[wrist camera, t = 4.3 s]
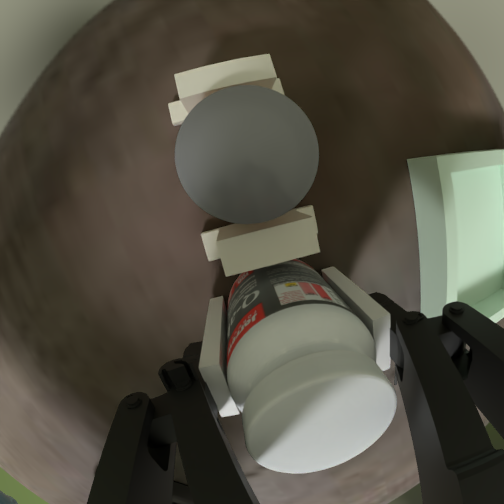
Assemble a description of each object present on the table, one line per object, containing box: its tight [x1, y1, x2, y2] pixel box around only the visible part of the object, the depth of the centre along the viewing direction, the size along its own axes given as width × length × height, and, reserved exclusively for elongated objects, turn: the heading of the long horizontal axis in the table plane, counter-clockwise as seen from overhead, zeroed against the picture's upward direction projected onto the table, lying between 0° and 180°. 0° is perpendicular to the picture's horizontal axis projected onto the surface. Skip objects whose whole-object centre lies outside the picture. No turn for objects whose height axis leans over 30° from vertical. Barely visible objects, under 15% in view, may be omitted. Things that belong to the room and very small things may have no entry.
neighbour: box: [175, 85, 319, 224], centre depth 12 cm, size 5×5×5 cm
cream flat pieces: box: [168, 54, 320, 474], centre depth 14 cm, size 6×24×4 cm, turn 14°
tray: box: [407, 149, 504, 323], centre depth 15 cm, size 11×13×3 cm
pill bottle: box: [227, 259, 397, 473], centre depth 11 cm, size 6×6×10 cm
